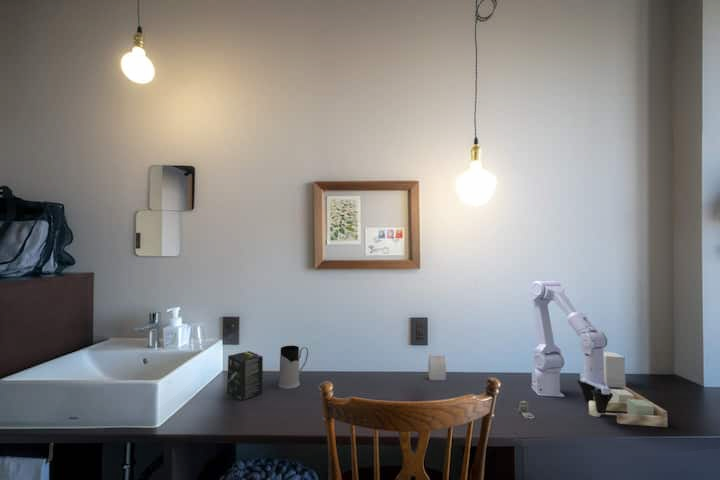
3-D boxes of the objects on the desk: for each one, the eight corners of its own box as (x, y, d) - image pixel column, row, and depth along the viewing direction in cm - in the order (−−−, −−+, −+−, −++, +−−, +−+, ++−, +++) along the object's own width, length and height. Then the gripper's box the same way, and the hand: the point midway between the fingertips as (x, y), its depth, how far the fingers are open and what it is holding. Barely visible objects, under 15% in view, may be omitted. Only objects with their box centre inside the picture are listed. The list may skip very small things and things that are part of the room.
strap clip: (535, 420, 110) (535, 407, 111) (526, 420, 110) (526, 407, 110) (521, 408, 119) (521, 396, 119) (513, 408, 119) (513, 396, 119)
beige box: (445, 380, 144) (445, 356, 145) (430, 380, 144) (430, 356, 145) (443, 377, 148) (443, 354, 149) (428, 377, 148) (428, 354, 149)
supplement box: (626, 388, 137) (625, 357, 138) (606, 386, 139) (605, 356, 139) (616, 381, 144) (615, 352, 145) (597, 380, 146) (596, 351, 146)
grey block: (619, 408, 119) (618, 394, 119) (610, 402, 124) (610, 389, 124) (634, 409, 118) (634, 395, 118) (625, 403, 123) (625, 389, 123)
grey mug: (273, 384, 138) (274, 348, 138) (300, 375, 148) (301, 341, 149) (287, 390, 132) (287, 352, 133) (314, 380, 143) (314, 345, 143)
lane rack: (618, 423, 108) (618, 408, 108) (586, 397, 127) (586, 384, 128) (667, 427, 106) (667, 411, 106) (626, 400, 125) (626, 387, 126)
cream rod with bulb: (593, 417, 111) (593, 402, 111) (585, 410, 116) (585, 396, 116) (654, 422, 109) (653, 406, 109) (643, 414, 113) (643, 400, 114)
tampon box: (263, 394, 128) (263, 355, 129) (240, 401, 121) (241, 361, 122) (248, 386, 136) (249, 350, 136) (226, 393, 129) (227, 354, 130)
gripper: (570, 360, 122) (571, 397, 121) (592, 373, 108) (593, 416, 107) (591, 361, 121) (592, 399, 120) (616, 374, 107) (617, 418, 106)
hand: (594, 407), depth 113 cm, fingers open, 7 cm apart
